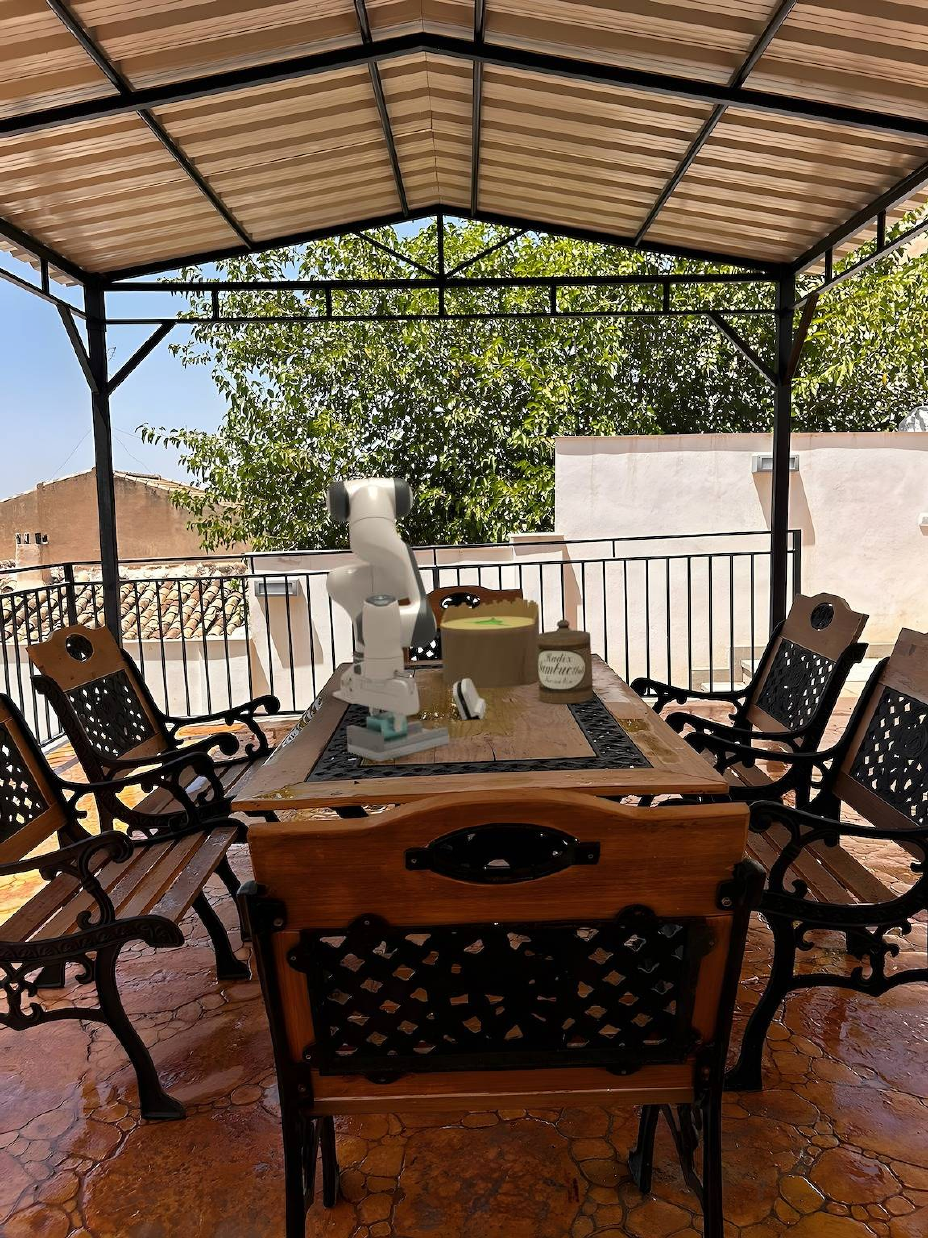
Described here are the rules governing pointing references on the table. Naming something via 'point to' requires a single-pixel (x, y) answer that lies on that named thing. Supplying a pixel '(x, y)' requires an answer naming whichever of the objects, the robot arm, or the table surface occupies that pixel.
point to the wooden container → (565, 665)
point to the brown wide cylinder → (491, 644)
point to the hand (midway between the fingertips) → (387, 728)
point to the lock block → (386, 725)
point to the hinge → (468, 699)
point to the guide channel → (394, 741)
